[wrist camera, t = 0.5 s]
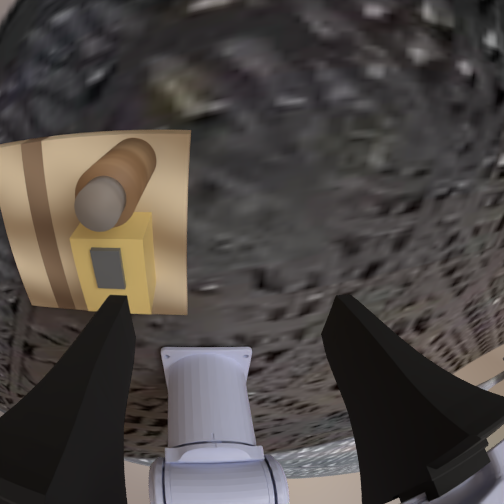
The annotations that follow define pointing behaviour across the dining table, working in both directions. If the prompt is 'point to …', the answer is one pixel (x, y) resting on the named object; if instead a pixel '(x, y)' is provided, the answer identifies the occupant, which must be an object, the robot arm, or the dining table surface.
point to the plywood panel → (65, 221)
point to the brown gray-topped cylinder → (114, 185)
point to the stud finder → (117, 263)
